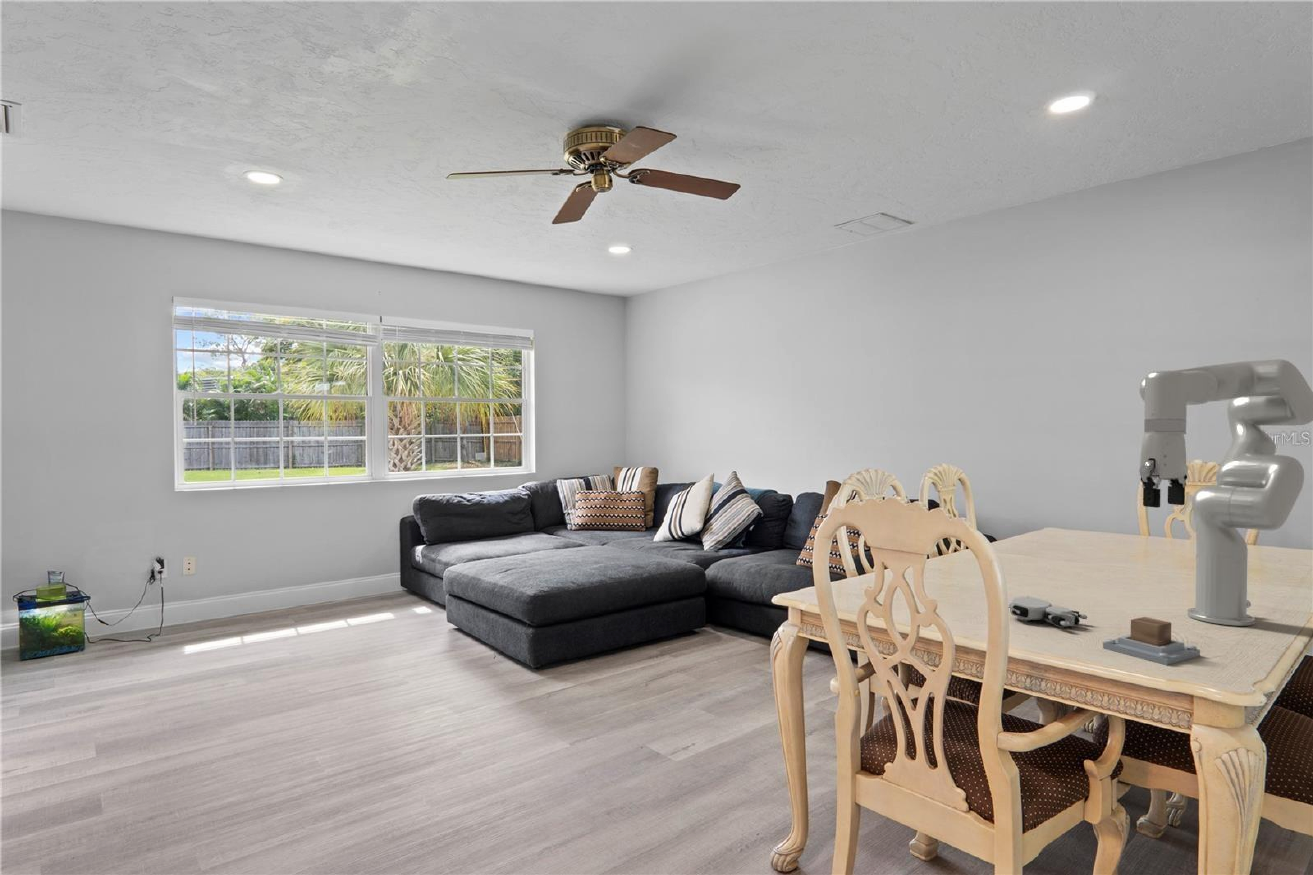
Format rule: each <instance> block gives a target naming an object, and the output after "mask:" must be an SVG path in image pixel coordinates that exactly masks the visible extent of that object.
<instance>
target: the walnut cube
mask: <svg viewBox="0 0 1313 875" xmlns="http://www.w3.org/2000/svg"><path fill="white" fill-rule="evenodd" d="M1130 635H1131V640H1134V641H1138V642H1142V643H1146V644H1150V645H1154V646H1158V647H1161V646H1165V645H1168V644H1171V640H1172V622H1170V621H1166V620H1161V619H1156V618H1151V617H1147V616H1143V617H1138V618H1133V619H1130Z"/></svg>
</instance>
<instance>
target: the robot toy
mask: <svg viewBox="0 0 1313 875" xmlns="http://www.w3.org/2000/svg"><path fill="white" fill-rule="evenodd" d="M1008 606H1009V607H1008V609H1009V608H1010V612H1009V613H1010V614H1011V615H1012V616H1014V617H1015V616H1016V617H1017V619H1018V620H1020V621H1022V622H1030V621H1031V620H1032V621H1038V620H1040V621H1041V620H1045V621H1046V622H1047V623H1049V624H1051V625H1053V626H1055V627H1057V628H1066V627H1074V626H1077V625H1079V623H1080V622H1081V620H1087V619H1088V615H1086V614H1084V613H1080V611H1077V610H1072V609H1071V608H1067V607H1064V606H1061V605H1060V606H1059V605H1056V604H1055V605H1053V604H1052V603H1051V602H1050V601H1048V600H1044V599H1042V598H1041V599H1040V598H1036V597H1032V596H1029V595H1027V596H1019V597H1014V598H1013V599H1011V600H1009V602H1008ZM1080 619H1081V620H1080Z"/></svg>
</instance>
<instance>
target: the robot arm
mask: <svg viewBox="0 0 1313 875" xmlns="http://www.w3.org/2000/svg"><path fill="white" fill-rule="evenodd" d="M1139 394H1140V397H1141V399H1142V400H1143V401H1144V423H1143V424H1144V425H1143V427H1144V428H1143V430H1144V432H1143V437H1142V443H1141V451H1140V461H1139V462H1140V463H1139V471H1138V472H1139V476H1140V482H1141V487H1142V488H1143V489H1142V492H1143V493H1142V506H1143V507H1146V508H1147V507H1148V508H1156V509H1157V508H1160V507H1161V488H1160V485H1161V483H1162V481H1163V480H1164V481H1166V480H1167V481H1168V484H1169V485H1168V486H1167V504H1168V505H1176V506H1184V505H1185V502H1186V497H1185V496H1186V487H1187V479H1188V473H1189V472H1188V471H1189V465H1187V451H1186V439H1185V435H1187V407H1188V406H1192V405H1193V406H1194V405H1204V404H1207V403H1209V402H1210V403H1211V402H1213V403H1214V402H1222V401H1226V400H1227V401H1228V400H1229V401H1228V404H1227V408H1226V409H1227V410H1226V412H1227V419H1228V425H1229V428H1230V433H1231V437H1232V440H1231V441H1232V442H1231V445H1230V446H1229V448H1228V450H1227V452H1226V453H1225V456H1224V457H1223V459H1222V461H1221V463H1220V465H1219V466H1218V469H1217V471H1216V474H1215V475H1216V476H1215V481H1216V483H1217V484H1213V485H1206V486H1203V487H1200V488H1198V489H1197V490H1196V491H1195V492H1194V493H1193V495H1192V499H1191V508H1192V514H1193V517H1194V524H1195V532H1196V536H1195V537H1196V551H1195V552H1196V553H1195V554H1196V556H1195V559H1196V560H1195V562H1196V563H1195V606H1194V607H1191V608H1189V609H1187V616H1188V617H1190V618H1191V619H1194V620H1198V621H1201V622H1206V623H1211V624H1217V625H1225V626H1236V627H1245V626H1253V625H1255V623H1256V618H1255V617H1254V616H1252V615H1249V614H1247V609H1249V608H1251V606H1252V603H1251V601H1250V600H1248V595H1247V594H1248V554H1249V552H1248V545H1247V542H1246V541H1245V538H1244V537H1243V535H1241V533H1240V532H1239V531H1238V529H1248V530H1255V531H1268V532H1269V531H1276V530H1279V529H1281V527H1283V526H1284V525H1285V523H1286V522H1287V519H1288V518H1289V516H1290V514H1291V512H1292V509H1293V507H1294V506H1295V505H1296V504H1295V503H1296V501H1297V500H1298V499H1299V498H1298V497H1299V496H1300V493H1301V492H1302V489H1303V487H1304V483H1305V482H1304V480H1305V472H1304V471H1305V470H1304V467H1303V464H1302V463H1301V462H1300V460H1298V459H1296V458H1294V457H1292V456H1289V455H1284V454H1276V452H1277V445H1276V443H1275V441H1274V440H1273V438H1271V437H1270V435H1268V434H1267V433H1266V432H1265V431H1264V430H1262V429H1261V427H1260V426H1295V427H1296V426H1304V425H1308V424H1310V423H1312V422H1313V390H1312V389H1311V386H1310V385H1309V384H1308V382H1307V379H1305V377H1304V375H1303V374H1302V373H1301V371H1300V370H1299V368H1297V366H1295V365H1294V364H1293V363H1292V362H1290V361H1288V360H1285V359H1265V360H1251V361H1250V360H1248V361H1247V360H1246V361H1237V362H1236V361H1235V362H1229V363H1228V362H1227V363H1221V364H1212V365H1204V366H1197V367H1190V368H1183V369H1175V370H1160V371H1159V370H1158V371H1150V372H1149V373H1147V374H1146V375H1145V377H1143V379H1142V380H1141V382H1140V384H1139Z"/></svg>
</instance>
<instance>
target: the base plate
mask: <svg viewBox="0 0 1313 875" xmlns="http://www.w3.org/2000/svg"><path fill="white" fill-rule="evenodd" d="M1102 648H1103V649H1106V650H1110V651H1113V652H1118V653H1121V654H1123V655H1127V656H1131V657H1136V658H1139V659H1143V660H1146V661H1149V662H1153V663H1157V664H1161V665H1165V666H1168V665H1172V664H1176V663H1179V662H1183V661H1187V660H1190V659H1191V660H1192V659H1194V658H1196V657H1200V656H1201V649H1199V648H1198V647H1197V646H1196V645H1190V644H1189V645H1188V644H1187V645H1186V646H1185V642H1184V641H1180V640H1175V639H1171V644H1168V645H1165V646H1161V647H1158V646H1154V645H1150V644H1146V643H1142V642H1138V641H1134V640H1131V634H1127V635H1123V636H1117V638H1115V639H1110V638H1106V640H1105V641H1102Z"/></svg>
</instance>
